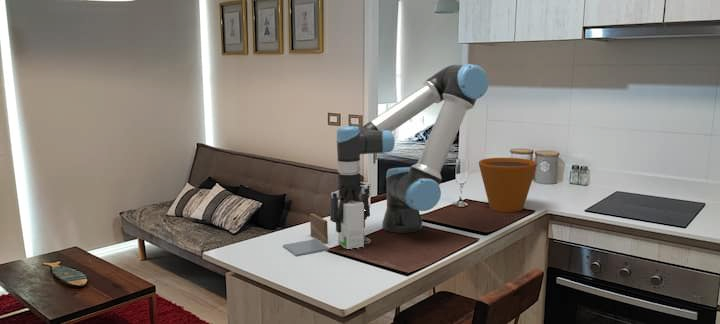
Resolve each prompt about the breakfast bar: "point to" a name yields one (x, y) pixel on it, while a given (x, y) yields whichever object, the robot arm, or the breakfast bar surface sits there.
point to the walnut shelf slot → (319, 228)
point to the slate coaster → (306, 247)
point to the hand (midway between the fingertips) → (351, 239)
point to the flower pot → (507, 182)
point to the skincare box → (353, 224)
